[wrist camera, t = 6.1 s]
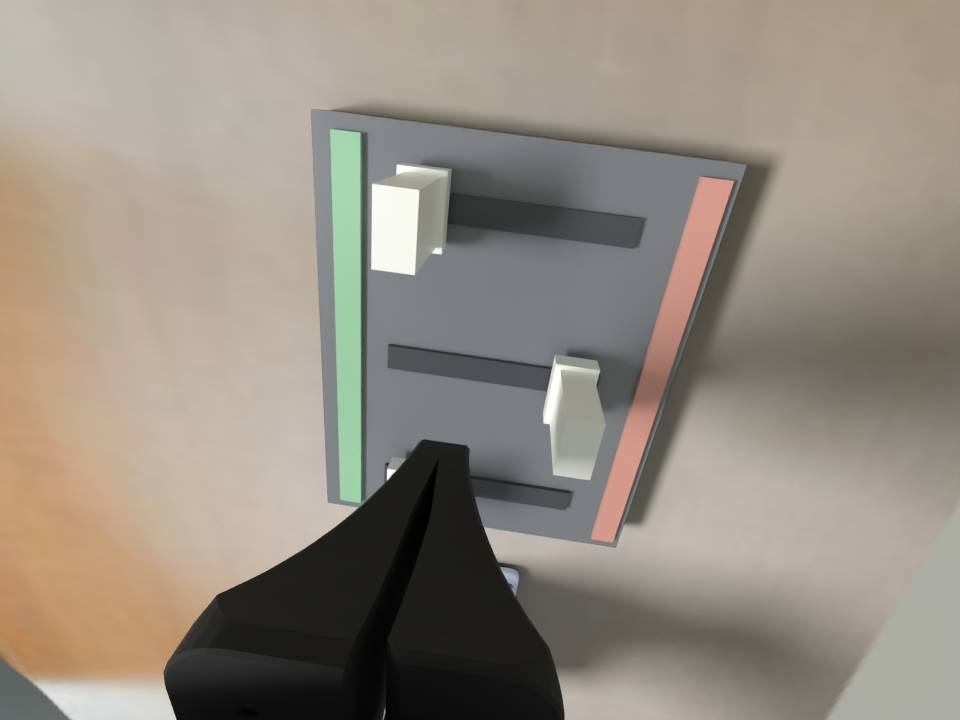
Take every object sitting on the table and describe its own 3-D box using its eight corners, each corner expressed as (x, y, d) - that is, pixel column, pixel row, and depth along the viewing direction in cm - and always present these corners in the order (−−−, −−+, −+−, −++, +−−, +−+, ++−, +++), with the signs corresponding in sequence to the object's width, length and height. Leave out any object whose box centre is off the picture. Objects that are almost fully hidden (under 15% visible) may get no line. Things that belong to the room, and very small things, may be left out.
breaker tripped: (582, 418, 19) (594, 486, 15) (542, 412, 19) (545, 478, 15) (597, 360, 18) (614, 420, 14) (555, 354, 18) (560, 412, 14)
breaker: (445, 248, 16) (421, 283, 13) (400, 242, 17) (363, 275, 13) (451, 168, 15) (427, 182, 12) (402, 162, 15) (364, 174, 12)
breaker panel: (611, 524, 24) (616, 551, 22) (339, 481, 24) (326, 505, 23) (729, 161, 16) (749, 165, 15) (328, 110, 17) (308, 108, 15)
